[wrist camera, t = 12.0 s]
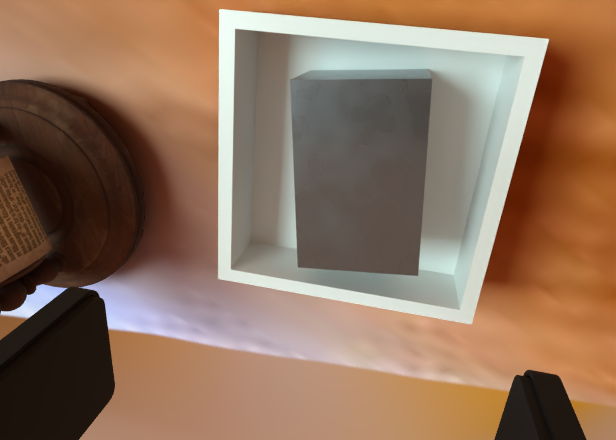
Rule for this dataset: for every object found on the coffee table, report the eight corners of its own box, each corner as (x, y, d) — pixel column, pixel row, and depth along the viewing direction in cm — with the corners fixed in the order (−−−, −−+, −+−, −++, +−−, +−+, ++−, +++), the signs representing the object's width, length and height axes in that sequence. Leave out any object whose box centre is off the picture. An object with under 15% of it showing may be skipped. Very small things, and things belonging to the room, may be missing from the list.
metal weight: (427, 69, 25) (432, 78, 21) (416, 236, 29) (418, 275, 24) (310, 70, 26) (290, 79, 22) (314, 231, 30) (297, 267, 26)
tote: (523, 36, 25) (549, 38, 20) (462, 280, 31) (471, 324, 26) (251, 11, 27) (219, 9, 22) (244, 243, 33) (217, 278, 28)
